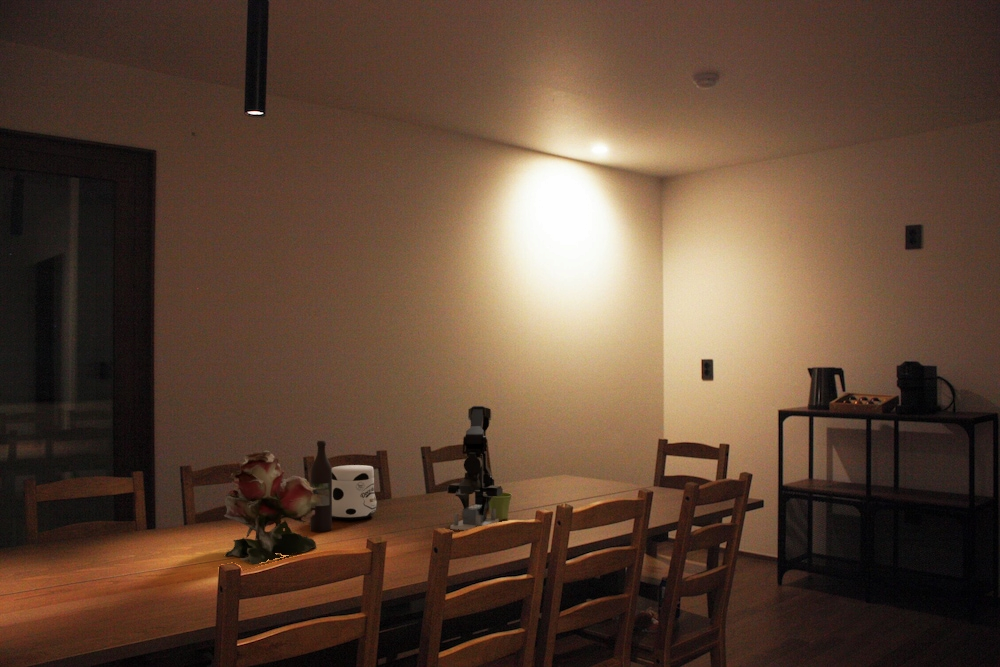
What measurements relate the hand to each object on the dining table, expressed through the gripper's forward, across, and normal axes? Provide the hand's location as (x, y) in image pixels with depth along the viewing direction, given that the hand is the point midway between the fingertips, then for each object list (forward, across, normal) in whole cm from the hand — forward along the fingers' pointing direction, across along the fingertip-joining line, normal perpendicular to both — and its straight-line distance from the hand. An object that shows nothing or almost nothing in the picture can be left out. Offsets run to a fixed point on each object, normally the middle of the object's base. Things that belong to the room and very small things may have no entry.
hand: (474, 514), depth 274 cm
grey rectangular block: (+2, 0, 0) cm, 2 cm away
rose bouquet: (+4, -44, -55) cm, 71 cm away
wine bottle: (+4, -45, -26) cm, 52 cm away
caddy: (+4, 0, 0) cm, 4 cm away
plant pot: (+4, +3, +14) cm, 15 cm away
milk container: (+4, -47, -4) cm, 47 cm away
